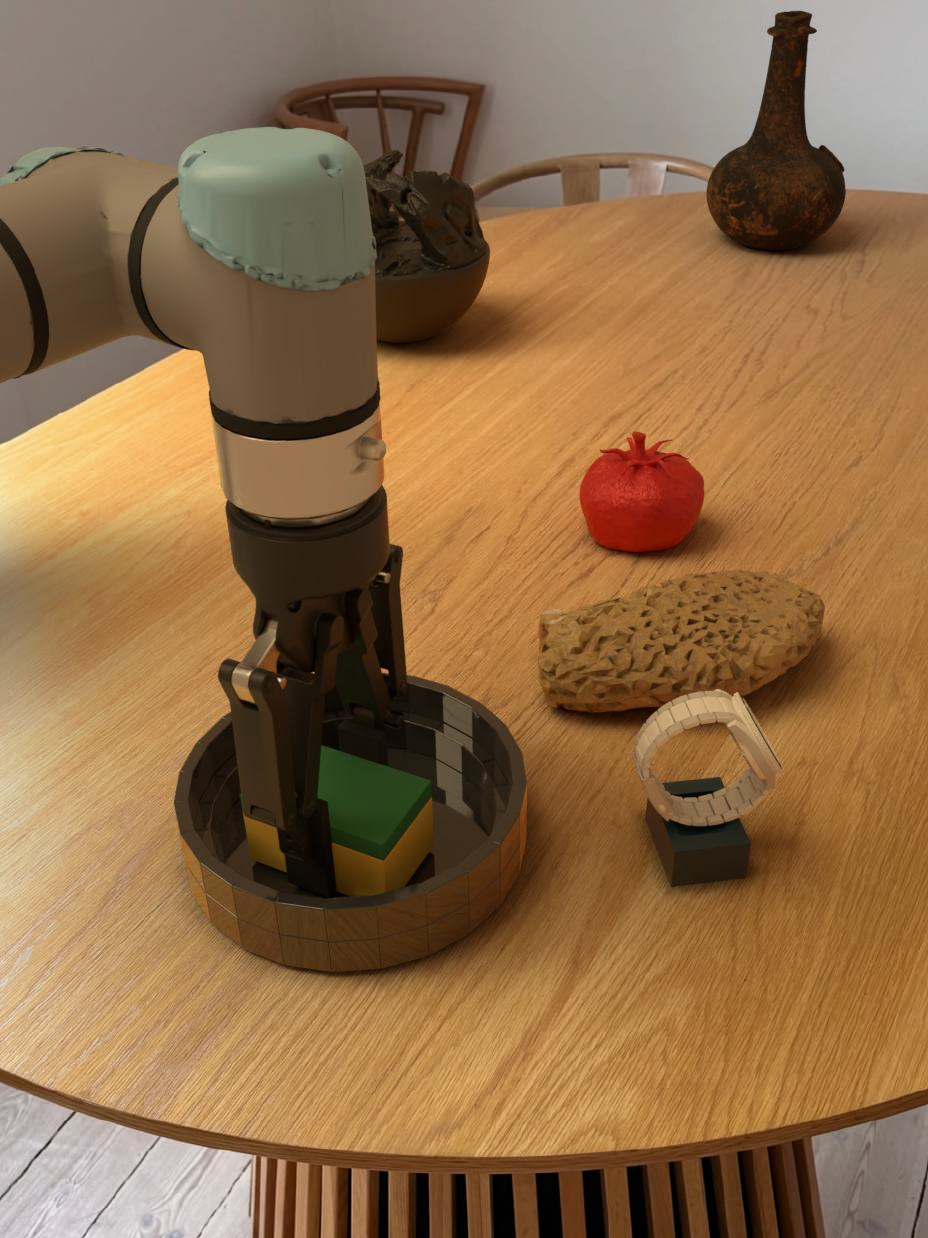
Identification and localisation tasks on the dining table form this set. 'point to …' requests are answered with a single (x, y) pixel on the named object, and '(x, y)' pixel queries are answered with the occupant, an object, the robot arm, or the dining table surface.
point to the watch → (704, 791)
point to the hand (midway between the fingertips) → (341, 848)
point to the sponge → (677, 641)
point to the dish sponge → (363, 824)
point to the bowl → (388, 922)
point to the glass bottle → (779, 159)
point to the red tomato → (641, 497)
